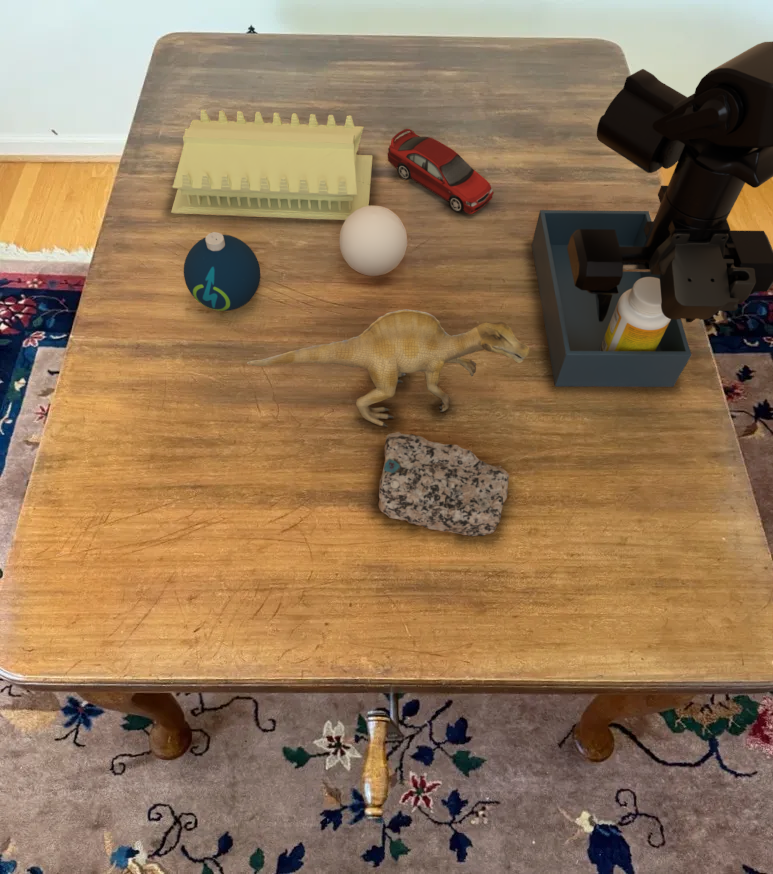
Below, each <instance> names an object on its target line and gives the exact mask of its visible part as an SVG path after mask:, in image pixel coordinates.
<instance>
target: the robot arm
mask: <svg viewBox="0 0 773 874" xmlns="http://www.w3.org/2000/svg"><path fill="white" fill-rule="evenodd" d="M623 85H624V86H623V88H621V90H620V91H619V92H618V93H617V94H616V95H615V96H614V98H613V99H612V100H611V102H610V103H609V105H608V107H606V110H605V112H604V114H603V115H601V116H600V118H599V119H598V123H597V128H596V138H597V140H598V142H600V143H601V144H603V145H604V146H605V147H608V148H609V149H610V150H612V151H613V152H615V153H617V154H618V155H620V156H621V157H623V158H624V159H626V160H627V161H629V162H630V163H632V164H633V165H635V166H637V168H640V169H641V170H643V171H644V172H646V173H648V174H652V173H655V172H657V171H659V170H661V168H663V169H664V170H666V169H667V170H668V169H670V168H672V167H673V166H674V165H675V167H674V170H673V173H672V175H671V178H670V180H669V181H668V185H661V186H660V188H659V189H658V192H657V197H658V202H659V203H660V204H659V206H658V209H657V211H656V214H655V216H654V218H653V220H651V221H647V223H646V225H645V228H644V232H645V236H646V241H645V243H644V247H619V243H618V239H617V235H616V231H615V229H579V230H576V231H575V232H574V233H573V234H572V235H571V237H570V241H569V244H568V247H567V250H568V255H569V260H570V265H571V269H572V274H573V279H574V284H575V286H576V287H577V288H579V289H580V290H587V292H589V293H591V294H595V295H596V305H597V315H598V320H599V322H603V321H604V319H605V317H606V315H607V312H608V309H609V306H610V302H611V299H612V296H613V294H618V288H617V286H618V285H619V284H620V281H621V279H622V275H623V272H651V275H660V289H661V300H662V303H661V309H662V312H663V314H664V315H665V316H666V317H667V318H669V319H681V320H683V319H685V322H686V323H693V322H694V321H695V320H696V319H697V320H701V321H702V320H704V321H705V320H709V319H711V318H713V316H715V315H716V314H717V313H719V311H720V312H721V311H722V312H725V311H727V312H734V311H737V310H738V307H739V305H741V304H743V303H744V302H745V301H747V299H749V297H750V296H751V295H753V294H755V292H756V293H757V292H758V293H759V292H761V293H764V292H765V293H766V292H768V291H769V290H771V288H772V287H773V247H772V245H771V242H770V239H769V237H768V236H767V233H766V232H765V230H731V227H730V225H729V222H728V218H729V216H730V213H731V212H732V210H733V208H734V206H735V203H736V202H737V200H738V198H739V196H740V194H741V192H742V190H743V188H744V186H745V184H746V185H748V186H750V187H751V188H753V189H754V188H759V187H760V186H761V185H763V184H764V183H766V182H768V181H769V180H770V179H772V178H773V41H762V42H760V43H757V44H756V45H754V46H751V47H750V48H748V49H747V50H745V51H743V52H741V53H739V54H738V55H736V56H734V57H732V58H731V59H729V60H726V61H725V62H724V63H721V64H720V65H718V66H717V67H715V68H713V69H711V70H710V71H708V72H707V73H706V74H705V75H704V76H703V77H701V78H700V80H699V82H698V84H697V86H696V87H695V90H694V93H693V94H691V95H689V96H686V95H685V94H683V93H681V92H679V91H678V90H676V89H674V88H672V87H671V86H669V85H667V84H666V83H664V82H663V81H661V80H660V79H659V78H657V77H656V76H655V75H654V74H653V73H651V72H650V71H648V70H646V69H644V68H641V69H639V70H637V71H635V72H634V73H631V74H630V75H628V76H627V77H625V81H624V84H623Z"/></svg>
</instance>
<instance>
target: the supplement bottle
mask: <svg viewBox="0 0 773 874" xmlns="http://www.w3.org/2000/svg"><path fill="white" fill-rule="evenodd" d="M661 303H662V300H661V289H660V279H658V278H655V277H644V278H641V279H639V280H637V281H636V282H635V284H634V285H633V288H632V289H629V290H627V291H626V292H624V293H623V294H622V295H621V297H620V299H619V301H618V303H617V306H616V308H615V311H614V313H613V316H612V318H611V321H610V323H609V326H608V329H607V331H606V333H605V336H604V339H603V341H602V344H601V349H600V351H656V348H657V347H658V344H659V343H660V341H661V339H662V337H663V335H664V332H665V330H666V328H667V326H668V324H669V322H670V320H671V319H669V318H667V317H666V316H665V315H664V314H663V312H662V309H661Z"/></svg>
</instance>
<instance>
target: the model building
mask: <svg viewBox="0 0 773 874" xmlns="http://www.w3.org/2000/svg"><path fill="white" fill-rule="evenodd" d="M199 117H200V119H191V123H190V125H189V128H187V127H186V128H184V134H183V135H182V140H183V148H181V155H180V156H179V163H178V164H177V170H176V172H175V177H174V180H173V184H172V185H171V188H172V189H177V190H176V194H175V198H174V201H173V204H172V208H171V211H170V213H171V214H179V215H180V214H181V215H202V216H203V215H205V216H229V217H230V216H233V217H255V218H256V217H257V218H279V219H303V220H304V219H307V220H330V221H345V220H346V219H347V218H348V216H349V215H351V214H352V213H353V212H354V211H356V210H357V209H359V208H362V207H365V206H370V194H371V192H370V191H371V184H372V183H371V181H372V170H373V169H372V167H373V155H372V154H358V152H359V146H360V141H361V140H362V135H363V131H364V128H365V126H359V125H355V122H354V119H353V115H346V119H345V123H344V125H337V123H336V120H335V117H334V115H333V114H328V116H327V121H326V124H319V122H318V119H317V117H316V113H315V114H314V113H311V114H309V119H308V121H309V122H308V123H307V124H306V123H300V119H299V116H298V114H297V113H291V116H290V117H291V120H290V123H288V122H287V123H284V122H283V120H282V118H281V116H280V113H279V112H273V117H272V122H265V121H264V118H263V115H262V114H261V112H260V111H255V115H254V121H247V119H246V118H245V115H244V113H243V111H241V110H237V112H236V121H233V120H228V117H227V115H226V112H225V111H224V110H219V111H218V119H217V120H211V118H210V116H209V114H208V112H207V110H206V109H200V116H199Z"/></svg>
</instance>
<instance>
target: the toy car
mask: <svg viewBox="0 0 773 874" xmlns="http://www.w3.org/2000/svg"><path fill="white" fill-rule="evenodd" d="M386 154H387V161H388V163H390V164H391V166H393V167H394V168H395V169H397V173H398V175H399V176H400V177H401V179H403V180H405V181H407V180H410V179H411V180H413V181H414V182H416V183H418V184H419V185H421V186H422V187H424V188H425V189H427V190H429V191H430V192H432V193H434V194H435V195H437V196H438V197H440V198H442V199H443V200H445V201H446V202H448V204H449V206H450V208H451V210H453V211H454V212H456V213H460V212H464V213H466V214H468V215H473V214H474V213H476V212H478V211H479V210H481V209H483V208H484V207H485V206H486V205H487V204H489V202H490V201H491V200H492V199H493V195H494V194H495V193H494V190H493V188H492V186H491V183H490V182H489V181H488V180H487V179H486V178H485V177H483V176H482V175H481V174H480V173H479V172H477V171H476V170H475V169H474V168H473V167H472V166H471V165H470V164H469V163H468V162H467V161H466V160H465V159H463V157H462V156H461V155H460V154H459V153H458V152H456V150H454V149H453V148H451V147H449V146H447V145H446V144H444V143H443V142H440V141H439V140H437V139H435V138H432V137H429V136H420V135H418V134H416V132H415V131H413V130H412V129H410V128H405V129H403V130H401V131H398V133H396V134H395V135H394V136H393V137H392V138H391V141H390V144H389V145H388V152H387V153H386Z"/></svg>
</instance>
